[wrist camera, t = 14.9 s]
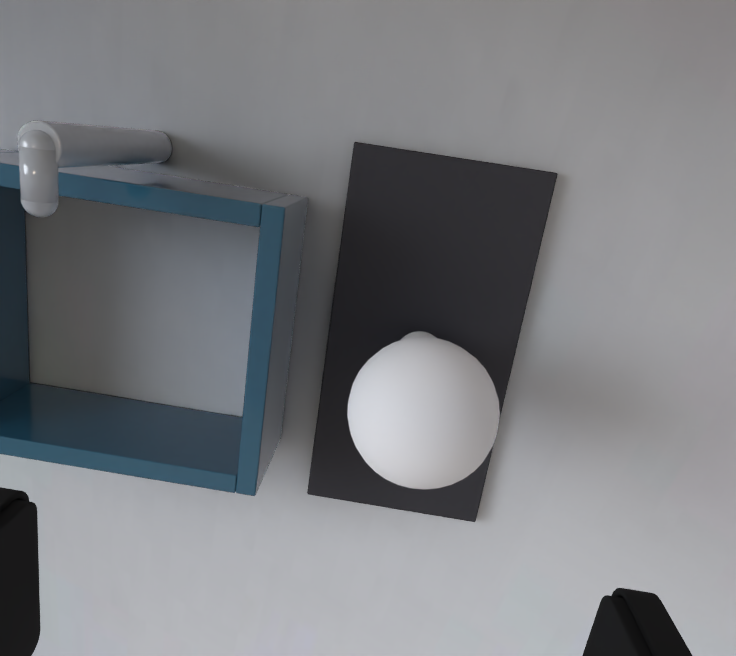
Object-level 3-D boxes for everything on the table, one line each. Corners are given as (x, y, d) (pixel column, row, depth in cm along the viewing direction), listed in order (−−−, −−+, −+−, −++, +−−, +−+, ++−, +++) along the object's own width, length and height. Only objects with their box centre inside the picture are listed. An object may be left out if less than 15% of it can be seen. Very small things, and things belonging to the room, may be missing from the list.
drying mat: (308, 489, 35) (306, 494, 34) (355, 142, 29) (354, 141, 29) (474, 516, 35) (475, 522, 34) (555, 172, 29) (557, 173, 28)
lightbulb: (493, 376, 32) (536, 488, 21) (390, 417, 33) (382, 543, 22) (449, 274, 30) (472, 340, 20) (343, 321, 31) (310, 407, 21)
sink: (13, 395, 34) (-151, 496, 24) (3, 106, 30) (-206, 83, 20) (281, 438, 34) (227, 560, 24) (313, 154, 29) (264, 156, 19)
